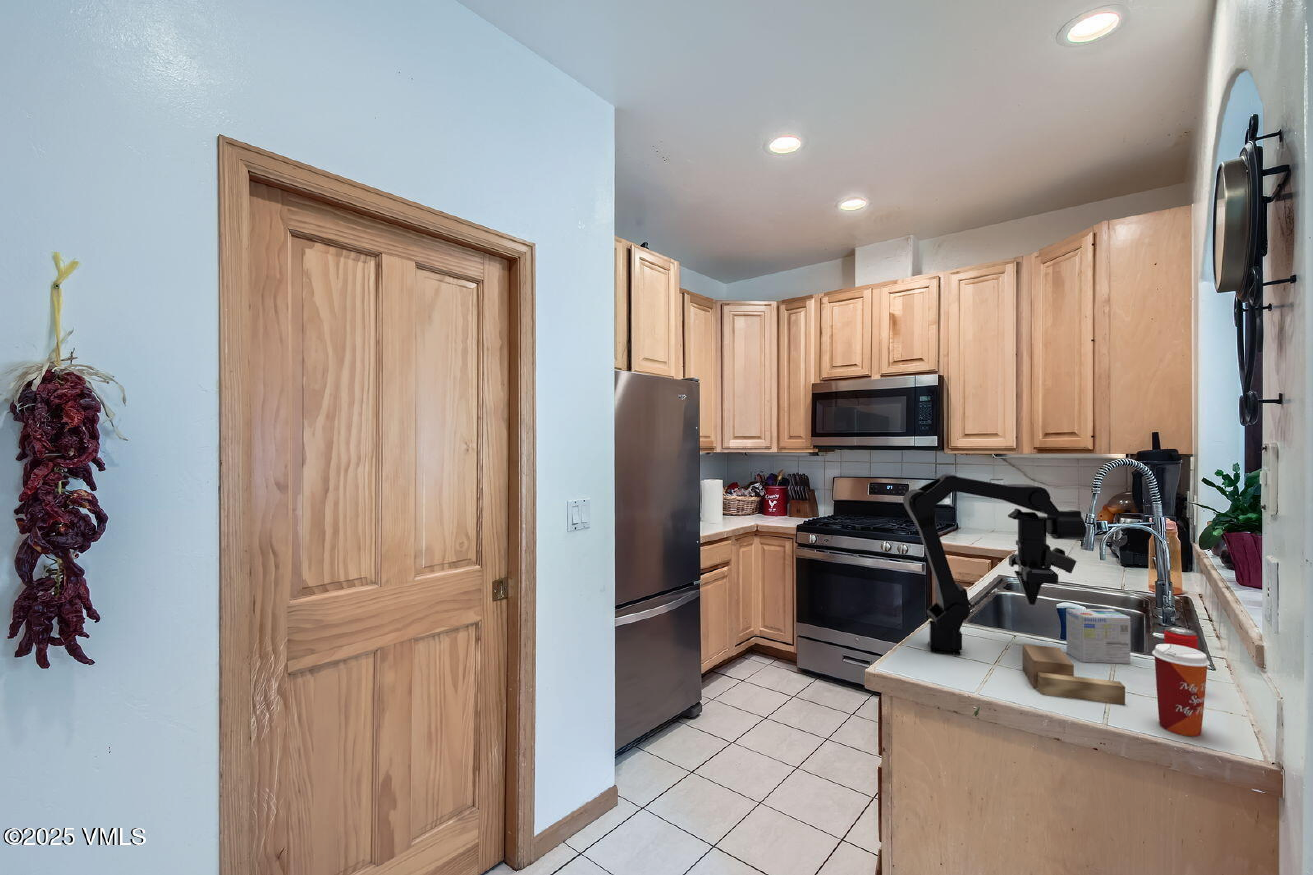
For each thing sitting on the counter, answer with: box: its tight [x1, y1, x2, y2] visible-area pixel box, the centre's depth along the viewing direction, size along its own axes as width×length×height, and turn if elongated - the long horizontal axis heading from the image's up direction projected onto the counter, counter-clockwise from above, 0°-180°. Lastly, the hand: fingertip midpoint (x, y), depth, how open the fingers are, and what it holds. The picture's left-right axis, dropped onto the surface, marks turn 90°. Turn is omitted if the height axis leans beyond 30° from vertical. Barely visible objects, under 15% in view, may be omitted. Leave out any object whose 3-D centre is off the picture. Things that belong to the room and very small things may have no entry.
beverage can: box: [1163, 626, 1199, 650], centre depth 121 cm, size 5×5×12 cm
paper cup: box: [1151, 643, 1211, 738], centre depth 105 cm, size 8×8×14 cm
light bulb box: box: [1065, 607, 1131, 664], centre depth 138 cm, size 11×7×11 cm, turn 84°
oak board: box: [1037, 672, 1126, 705], centre depth 118 cm, size 14×2×4 cm, turn 70°
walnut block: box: [1021, 643, 1075, 690], centre depth 125 cm, size 7×10×6 cm
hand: (1031, 604), depth 140 cm, fingers closed
